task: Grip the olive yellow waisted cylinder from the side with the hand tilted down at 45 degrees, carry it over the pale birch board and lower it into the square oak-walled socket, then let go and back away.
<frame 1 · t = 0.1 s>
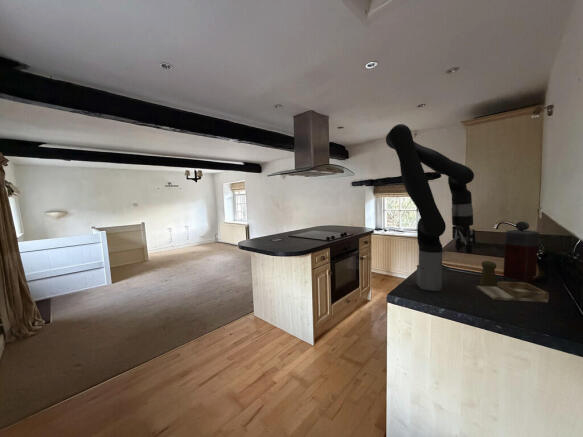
hand: (463, 250, 104), 17 cm above the countertop, tool pointing down, fingers open, 8 cm apart
red coffee grinder: (520, 277, 117), on the countertop
socket board: (509, 294, 98), on the countertop
olive yellow waisted cylinder: (487, 285, 109), on the countertop
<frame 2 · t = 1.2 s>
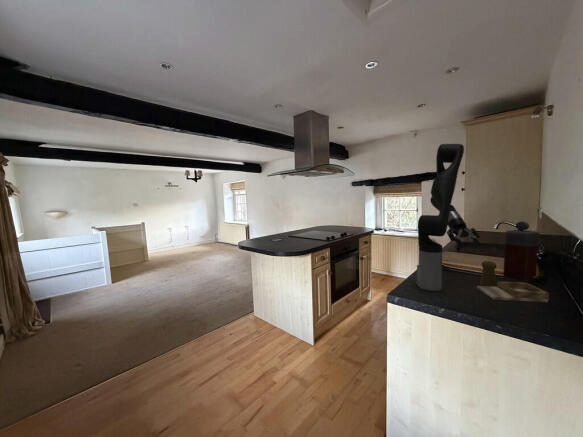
hand: (470, 246, 119), 16 cm above the countertop, tool tilted 45°, fingers open, 8 cm apart
nothing on the countertop moved.
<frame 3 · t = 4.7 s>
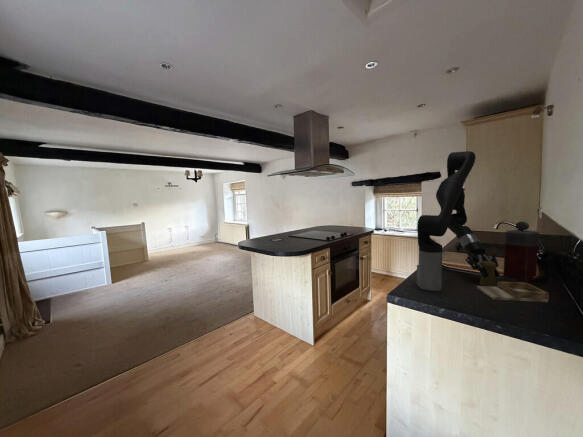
hand: (492, 276, 107), 5 cm above the countertop, tool tilted 45°, fingers closed on olive yellow waisted cylinder, 4 cm apart
olive yellow waisted cylinder: (487, 285, 109), on the countertop, touching gripper
everything else where it was.
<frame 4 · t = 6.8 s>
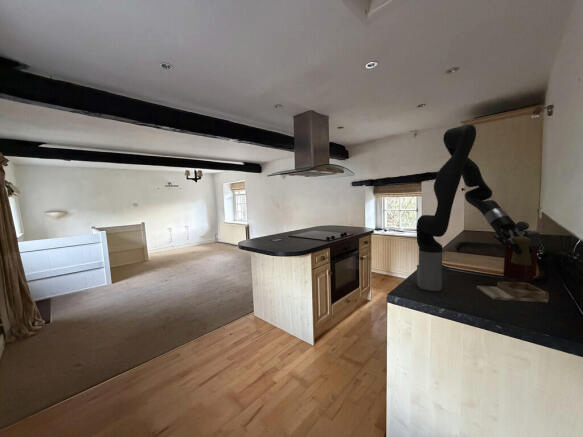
hand: (526, 253, 94), 18 cm above the countertop, tool tilted 45°, fingers closed on olive yellow waisted cylinder, 4 cm apart
olive yellow waisted cylinder: (520, 263, 97), point 13 cm above the countertop, touching gripper
everything else where it was.
when the fingers open (7 cm above the countertop, at t = 9.3 s): olive yellow waisted cylinder drops 2 cm, resting on socket board.
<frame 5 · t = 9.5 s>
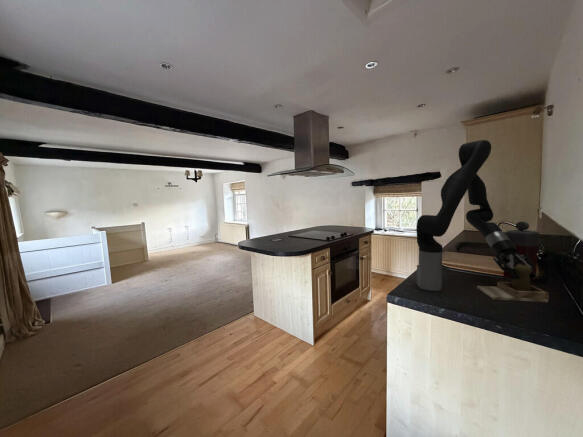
hand: (526, 278, 95), 8 cm above the countertop, tool tilted 45°, fingers open, 6 cm apart
olive yellow waisted cylinder: (521, 291, 98), point 1 cm above the countertop, touching gripper, socket board
everything else where it was.
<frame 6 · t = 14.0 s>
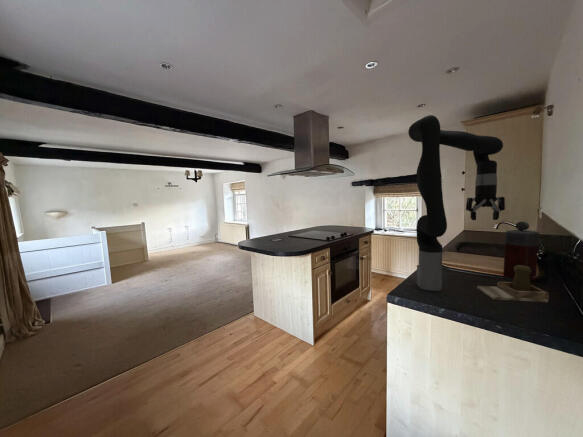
hand: (484, 220, 108), 30 cm above the countertop, tool pointing down, fingers open, 8 cm apart
olive yellow waisted cylinder: (521, 292, 98), point 1 cm above the countertop, touching socket board
everything else where it was.
at the end: olive yellow waisted cylinder 1.7 cm from the target spot on the socket board, point 0.8 cm above the socket board's base; olive yellow waisted cylinder tilted 0°; the gripper is holding nothing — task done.
